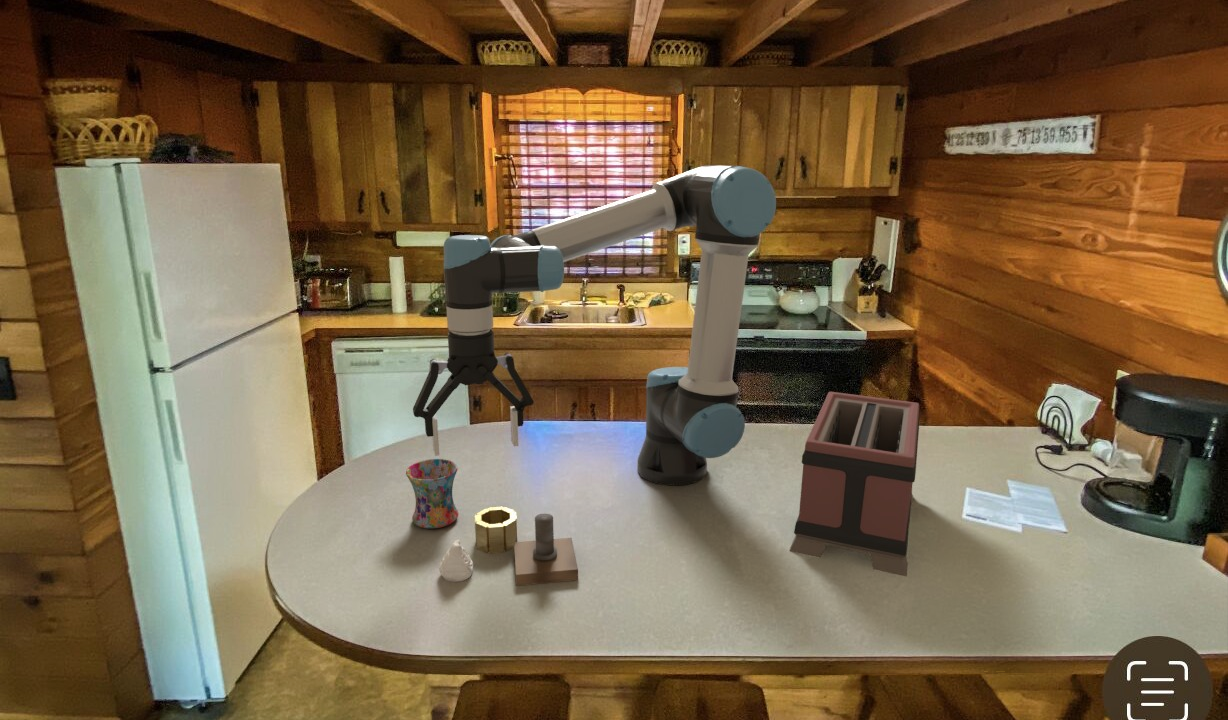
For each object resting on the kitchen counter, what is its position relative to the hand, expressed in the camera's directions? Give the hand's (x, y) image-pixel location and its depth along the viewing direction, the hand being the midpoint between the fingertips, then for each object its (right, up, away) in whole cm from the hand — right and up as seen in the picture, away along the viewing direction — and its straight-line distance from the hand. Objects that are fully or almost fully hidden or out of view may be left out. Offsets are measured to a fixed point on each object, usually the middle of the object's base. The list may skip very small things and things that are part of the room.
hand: (476, 448), depth 126 cm
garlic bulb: (-2, -20, -7) cm, 21 cm away
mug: (-9, -15, +12) cm, 21 cm away
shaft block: (+13, -19, -4) cm, 23 cm away
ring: (+3, -17, +3) cm, 18 cm away
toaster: (+70, -15, +12) cm, 73 cm away
